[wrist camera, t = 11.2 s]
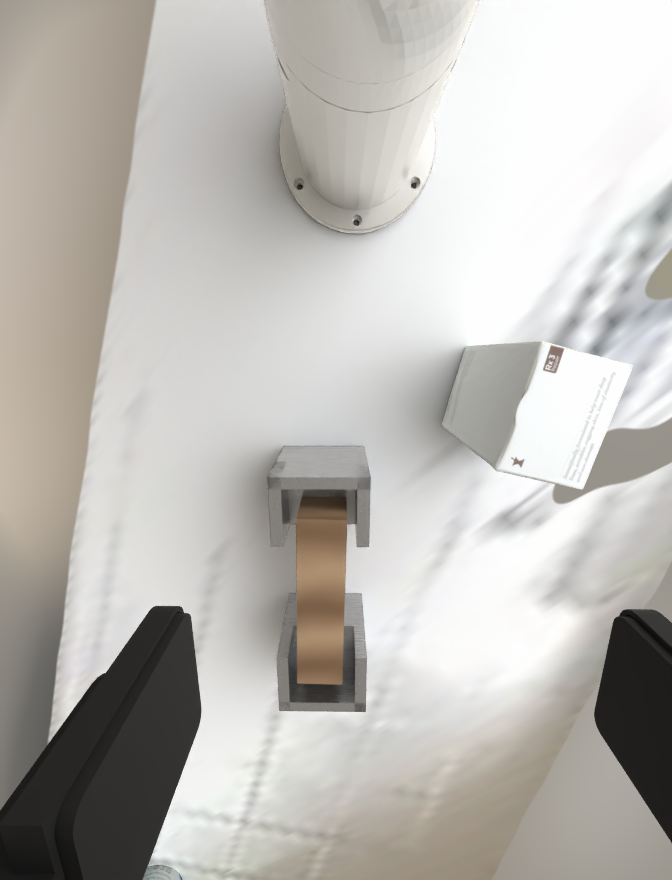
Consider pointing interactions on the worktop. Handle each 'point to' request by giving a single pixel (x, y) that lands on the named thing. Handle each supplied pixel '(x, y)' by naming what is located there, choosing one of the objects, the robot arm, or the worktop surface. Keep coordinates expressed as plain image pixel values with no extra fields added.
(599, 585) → the worktop surface
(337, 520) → the walnut rail
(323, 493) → the brackets
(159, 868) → the spray paint can
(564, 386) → the skincare box
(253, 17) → the worktop surface
